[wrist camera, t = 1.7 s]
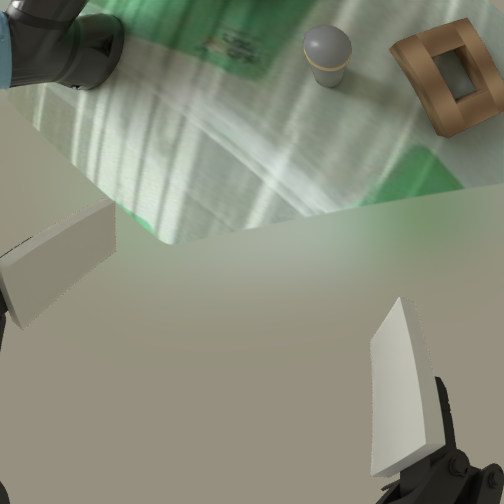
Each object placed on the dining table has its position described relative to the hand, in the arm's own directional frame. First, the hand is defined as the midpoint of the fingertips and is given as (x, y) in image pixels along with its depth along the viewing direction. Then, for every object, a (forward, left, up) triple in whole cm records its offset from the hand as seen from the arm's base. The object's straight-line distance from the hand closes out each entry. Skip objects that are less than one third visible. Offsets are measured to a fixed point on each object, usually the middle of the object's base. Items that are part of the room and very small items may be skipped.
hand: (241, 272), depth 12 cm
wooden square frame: (-2, +25, -29) cm, 38 cm away
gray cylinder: (-9, +9, -29) cm, 31 cm away
